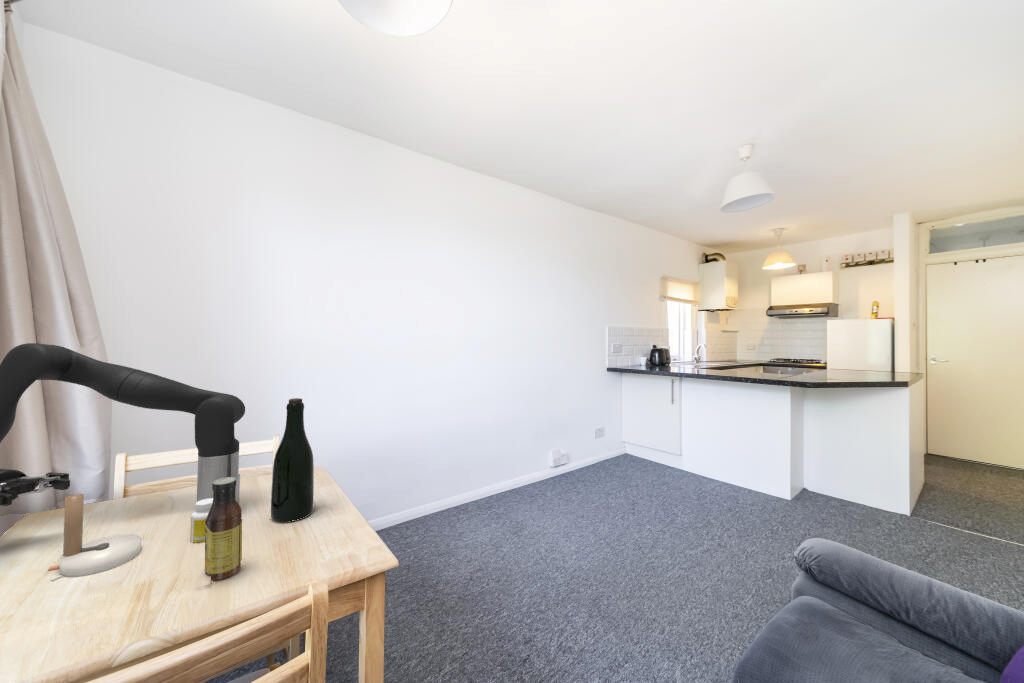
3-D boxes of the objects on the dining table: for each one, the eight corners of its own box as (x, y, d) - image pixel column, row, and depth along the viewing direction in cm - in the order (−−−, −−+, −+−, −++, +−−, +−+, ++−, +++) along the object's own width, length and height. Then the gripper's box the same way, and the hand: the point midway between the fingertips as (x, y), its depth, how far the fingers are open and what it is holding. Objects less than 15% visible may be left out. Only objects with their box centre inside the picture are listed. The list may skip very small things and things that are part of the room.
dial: (149, 540, 90) (151, 479, 90) (128, 567, 80) (130, 497, 80) (77, 552, 84) (79, 487, 84) (44, 583, 74) (47, 508, 74)
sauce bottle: (217, 564, 83) (220, 474, 83) (248, 564, 83) (250, 473, 84) (195, 583, 76) (198, 485, 77) (228, 582, 77) (231, 484, 77)
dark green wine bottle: (273, 527, 100) (276, 402, 100) (268, 513, 108) (271, 397, 108) (316, 516, 106) (320, 399, 107) (309, 504, 115) (312, 395, 115)
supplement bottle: (223, 539, 93) (224, 499, 94) (197, 550, 89) (198, 508, 89) (210, 534, 96) (212, 495, 96) (185, 544, 91) (186, 503, 91)
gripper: (-63, 480, 79) (-13, 487, 75) (37, 459, 93) (83, 464, 89) (-63, 516, 79) (-13, 525, 75) (37, 490, 93) (83, 496, 89)
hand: (39, 492), depth 82 cm, fingers open, 8 cm apart
